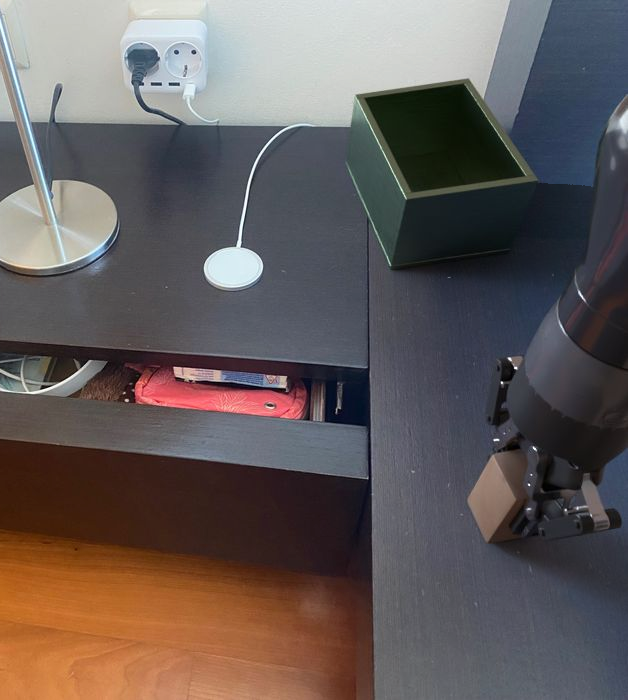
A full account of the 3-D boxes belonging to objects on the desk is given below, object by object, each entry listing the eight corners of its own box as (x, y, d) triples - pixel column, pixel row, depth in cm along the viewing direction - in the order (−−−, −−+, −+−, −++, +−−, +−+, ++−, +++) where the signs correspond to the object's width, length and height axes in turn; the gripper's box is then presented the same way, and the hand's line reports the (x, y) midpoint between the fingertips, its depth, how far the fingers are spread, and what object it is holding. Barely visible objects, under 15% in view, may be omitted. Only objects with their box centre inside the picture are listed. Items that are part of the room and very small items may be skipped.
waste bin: (508, 252, 75) (538, 180, 68) (389, 270, 75) (406, 199, 68) (449, 150, 86) (468, 77, 79) (345, 165, 86) (354, 94, 79)
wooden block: (485, 546, 57) (515, 501, 50) (464, 500, 59) (490, 452, 53) (534, 536, 57) (570, 490, 51) (511, 491, 59) (543, 442, 53)
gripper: (732, 468, 38) (603, 583, 51) (599, 274, 46) (519, 416, 60) (590, 489, 38) (499, 599, 51) (484, 290, 46) (430, 429, 60)
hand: (510, 499), depth 55 cm, fingers closed on wooden block, 4 cm apart
